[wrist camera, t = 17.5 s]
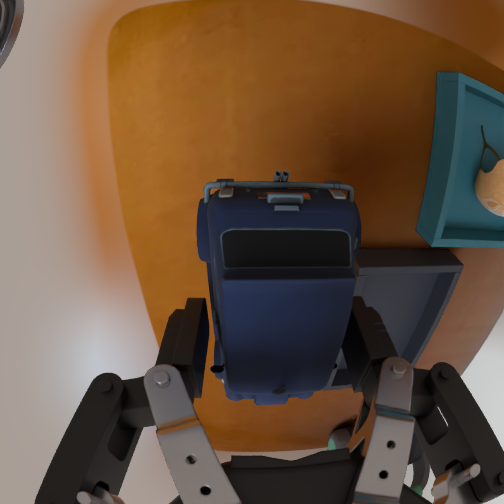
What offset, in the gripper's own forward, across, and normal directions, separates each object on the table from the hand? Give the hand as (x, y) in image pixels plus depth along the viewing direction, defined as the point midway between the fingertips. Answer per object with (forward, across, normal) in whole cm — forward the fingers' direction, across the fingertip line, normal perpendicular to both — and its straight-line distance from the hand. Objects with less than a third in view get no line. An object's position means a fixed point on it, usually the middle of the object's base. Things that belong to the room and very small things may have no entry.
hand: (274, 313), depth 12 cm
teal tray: (+11, -21, -6) cm, 25 cm away
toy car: (+2, 0, 0) cm, 2 cm away
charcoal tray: (+11, -13, +12) cm, 21 cm away
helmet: (+11, -21, -6) cm, 25 cm away
